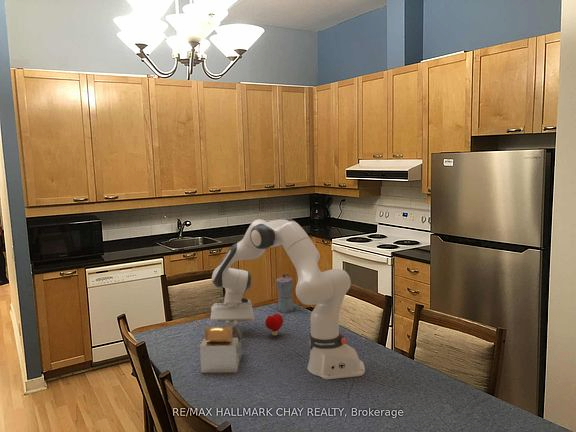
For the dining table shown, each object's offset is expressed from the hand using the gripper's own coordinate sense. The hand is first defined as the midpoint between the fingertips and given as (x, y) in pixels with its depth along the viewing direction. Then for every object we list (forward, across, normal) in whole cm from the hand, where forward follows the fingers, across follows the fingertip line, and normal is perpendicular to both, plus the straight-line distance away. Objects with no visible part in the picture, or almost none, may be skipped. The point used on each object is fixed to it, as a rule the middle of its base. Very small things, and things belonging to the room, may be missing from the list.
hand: (231, 330), depth 226 cm
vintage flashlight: (+8, 0, -2) cm, 9 cm away
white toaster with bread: (+22, 0, -16) cm, 27 cm away
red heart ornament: (+1, +20, +5) cm, 20 cm away
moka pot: (-25, +24, +31) cm, 47 cm away
